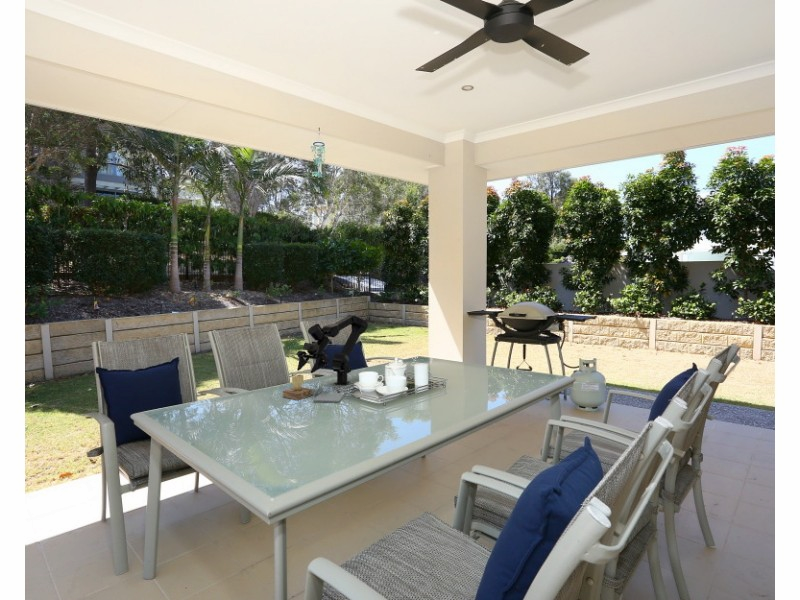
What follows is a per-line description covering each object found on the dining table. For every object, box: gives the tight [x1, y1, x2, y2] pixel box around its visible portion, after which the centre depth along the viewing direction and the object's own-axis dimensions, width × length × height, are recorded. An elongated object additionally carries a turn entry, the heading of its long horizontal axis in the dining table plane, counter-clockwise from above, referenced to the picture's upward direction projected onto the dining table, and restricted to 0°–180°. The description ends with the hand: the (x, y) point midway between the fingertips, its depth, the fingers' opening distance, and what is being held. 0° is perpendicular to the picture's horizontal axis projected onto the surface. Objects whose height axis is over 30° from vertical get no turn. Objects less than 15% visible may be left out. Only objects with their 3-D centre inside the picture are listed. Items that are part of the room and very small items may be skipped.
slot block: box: [282, 386, 314, 401], centre depth 223 cm, size 10×10×3 cm
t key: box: [291, 374, 305, 391], centre depth 223 cm, size 5×2×10 cm, turn 146°
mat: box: [313, 392, 345, 404], centre depth 218 cm, size 12×12×1 cm
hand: (304, 371), depth 226 cm, fingers open, 9 cm apart
